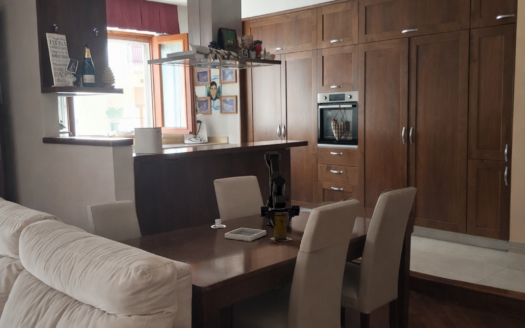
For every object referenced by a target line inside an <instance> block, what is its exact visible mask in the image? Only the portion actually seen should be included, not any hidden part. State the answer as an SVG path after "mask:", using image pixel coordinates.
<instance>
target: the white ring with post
mask: <svg viewBox="0 0 525 328" xmlns="http://www.w3.org/2000/svg"><path fill="white" fill-rule="evenodd" d="M214 222H215V223H214V224H213V225H211V226H210V227H211V228H212V229H222V228H226V227H227V226H226V225H225V224H222V219H221V218H216V219H215V220H214Z"/></svg>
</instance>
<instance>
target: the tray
mask: <svg viewBox="0 0 525 328" xmlns="http://www.w3.org/2000/svg"><path fill="white" fill-rule="evenodd" d="M266 235H267V230H265V229H255V228H247V227H240V228H236V229H233V230H230V231H228V232H225V233H224V238H225V239H230V240H237V241H244V242H252V241H254V240H257V239H260V238H262V237H265V236H266Z"/></svg>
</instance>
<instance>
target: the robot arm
mask: <svg viewBox="0 0 525 328" xmlns="http://www.w3.org/2000/svg"><path fill="white" fill-rule="evenodd" d="M281 158H282V155H281V153H280V152H279V151H266V153H264V161H265V164H266V166H267V168H268V171H269V172H268V173H269V174H268V176H269V179H268V180H269V181H268V185H269V196H268V198H267V202H266V205H261V206H259V207H260V208H259V213H260V215H259V216H260V217H261V218H266V219H268V223H266V225H267V226H272V227H274V226H275V224H274V219H275V218H274V217H275V214H276V213H285V214H287V213H288V214H287V215H288V216H287V227H290V224H291V221H292V219H293V218H295V217H298V216H300V212H301V206H300V205H299V204H292V205H291V207H288V208H287V203H289V202H290V201H291V200H290V199H291V198H290V194H285V189H286V186H287V184H288V182H287V181H286V179H285V178H284V175H283V173H282V172H281V169H280V168H281V167H280V161H281V160H282V159H281Z"/></svg>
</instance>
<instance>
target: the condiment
mask: <svg viewBox="0 0 525 328" xmlns="http://www.w3.org/2000/svg"><path fill="white" fill-rule="evenodd" d="M274 218H275V219H274V224H275V226H273V237H271V238H269V239H270V240H273V241H279V242H288V241H291V240H293V238H290V237H288V233H287V232H288V231H287V230H288V228H287V227H288V219H287V213H276V214H275V217H274Z"/></svg>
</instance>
